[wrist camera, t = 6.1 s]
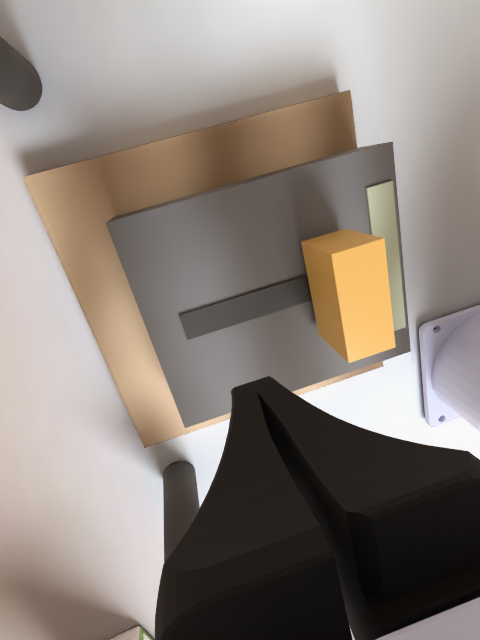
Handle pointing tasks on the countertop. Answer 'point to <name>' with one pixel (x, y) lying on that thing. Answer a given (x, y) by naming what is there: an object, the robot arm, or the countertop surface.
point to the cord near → (17, 80)
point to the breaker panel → (148, 183)
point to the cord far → (178, 503)
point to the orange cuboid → (350, 292)
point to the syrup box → (133, 635)
